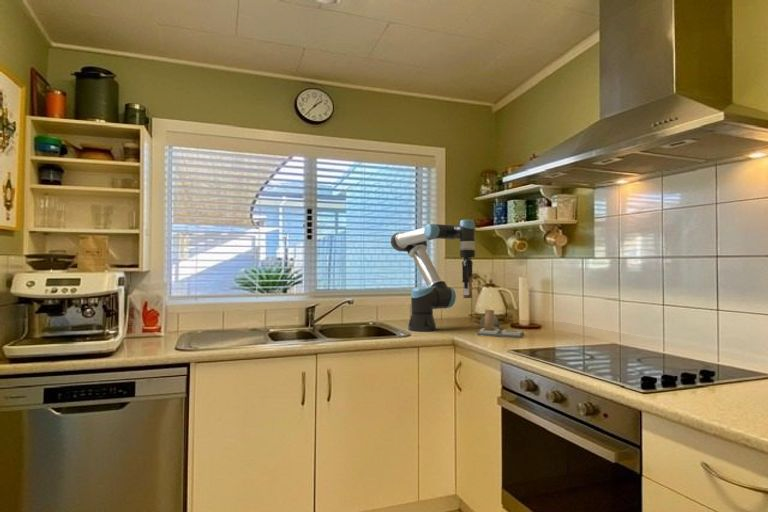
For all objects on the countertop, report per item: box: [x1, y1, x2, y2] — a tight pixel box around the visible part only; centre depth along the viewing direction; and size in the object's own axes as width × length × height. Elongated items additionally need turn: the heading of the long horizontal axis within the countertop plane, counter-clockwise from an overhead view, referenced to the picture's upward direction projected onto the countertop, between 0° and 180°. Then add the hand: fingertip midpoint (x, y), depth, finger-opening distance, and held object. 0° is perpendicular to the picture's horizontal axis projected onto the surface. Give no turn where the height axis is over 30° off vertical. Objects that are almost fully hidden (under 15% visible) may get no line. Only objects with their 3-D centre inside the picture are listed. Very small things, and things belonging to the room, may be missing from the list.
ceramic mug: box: [479, 314, 502, 331], centre depth 240 cm, size 11×8×8 cm
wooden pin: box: [462, 275, 473, 299], centre depth 228 cm, size 4×4×11 cm
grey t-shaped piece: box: [476, 309, 525, 339], centre depth 221 cm, size 21×12×12 cm, turn 66°
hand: (467, 294), depth 228 cm, fingers closed on wooden pin, 4 cm apart
